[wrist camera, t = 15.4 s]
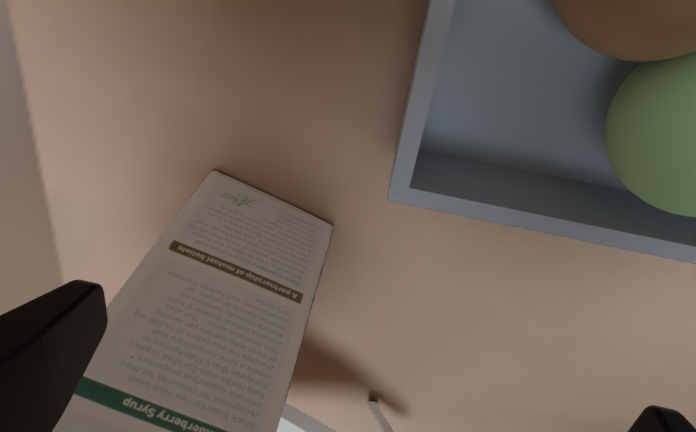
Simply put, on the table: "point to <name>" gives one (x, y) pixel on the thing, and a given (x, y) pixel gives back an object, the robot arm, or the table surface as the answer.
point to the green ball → (656, 133)
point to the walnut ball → (632, 27)
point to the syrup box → (207, 320)
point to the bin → (521, 130)
